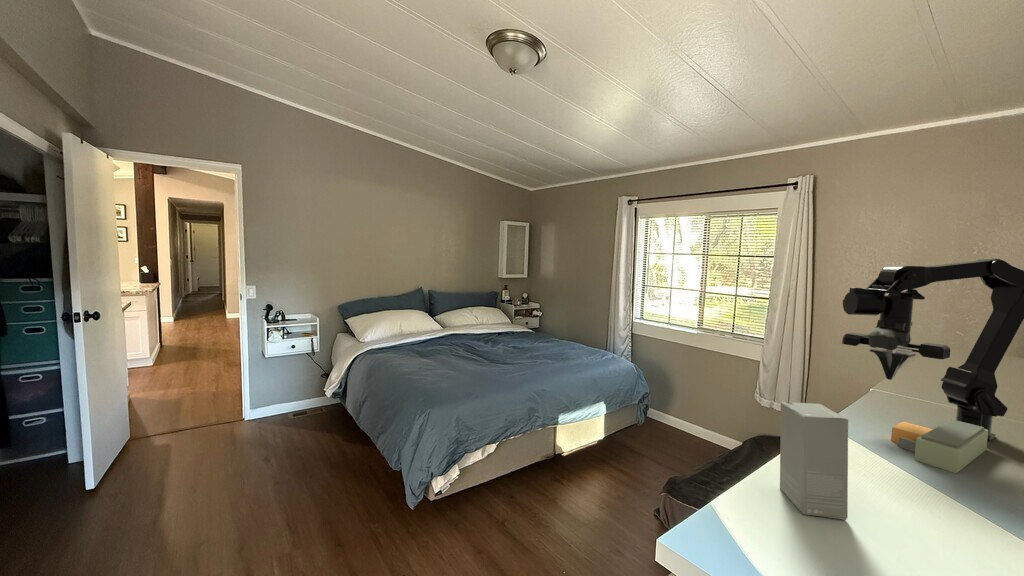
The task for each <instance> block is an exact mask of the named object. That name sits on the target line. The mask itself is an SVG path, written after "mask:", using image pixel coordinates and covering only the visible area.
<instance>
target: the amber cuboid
mask: <svg viewBox="0 0 1024 576" xmlns="http://www.w3.org/2000/svg"><path fill="white" fill-rule="evenodd" d="M933 429H934V428H933ZM933 429H932V428H928V427H925V426H921V425H917V424H914V423H910V422H906V421H901V422H899V423H897V424H895V425H893V426H892V427H891V435H890V436H891V437H890V441H891V442H893V443H897V444H899V438H900V437H903V438H907V439H910V440H914V441H916V438H918V437H920V436H922V435H924V434H925V433H927V432H929V431H931V430H933Z"/></svg>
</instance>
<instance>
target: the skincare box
mask: <svg viewBox="0 0 1024 576" xmlns="http://www.w3.org/2000/svg"><path fill="white" fill-rule="evenodd" d="M779 445H780V446H779V447H780V448H779V449H780V451H779V457H780V458H779V489H780V491H782V493H783V494H784V495H785V496H786V497H787V498H788V499H789V500H790V501H791V502H792V504H793V505H795V507H796V508H797V509H798V510H799V512H801V514H803V515H807V516H813V517H814V516H817V517H824V518H831V519H839V520H844V521H847V519H848V515H849V514H848V507H849V506H848V501H849V500H848V497H849V496H848V493H849V492H848V491H849V490H848V487H849V486H848V485H849V478H848V477H849V476H848V475H849V474H848V473H849V471H848V470H849V419H848V418H847V417H844V416H842V415H841V414H839V413H837V412H835V411H833V410H832V409H830V408H828V407H826V406H825V405H823V404H821V403H810V402H809V403H808V402H791V401H789V402H788V401H781V402H780V444H779Z"/></svg>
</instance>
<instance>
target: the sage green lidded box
mask: <svg viewBox="0 0 1024 576" xmlns="http://www.w3.org/2000/svg"><path fill="white" fill-rule="evenodd" d="M987 439H988V430H987V429H984V427H981V426H977V425H973V424H969V423H965V422H961V421H957V420H956V419H949V420H947V421H945V422H944V423H942V424H941V425H939V426H937V427H935V428H933V430H931V431H929V432H927V433H925V434H924V435H922V436H920V437H918V438H916V441H914V440H910V439H907V438H903V437H900V438H899V443H898V446H897V447H898V448H902V449H904V450H905V449H906V450H909V451H911V452H914V458H913V459H914V461H915V462H916V461H917V462H919V461H920V462H919V463H922V464H925V465H929V466H933V467H935V468H938V469H941V470H944V471H948V472H950V473H954V474H957V473H959V472H960V471H961V470H963V469H964V468H965V467H966V466H967V465H969V464H970V463H971V462H973V461H974V460H975V459H976V458H978V457H979V456H980V455H982V454H983V453H984V452H985V451H986V450H987V446H988V441H987Z"/></svg>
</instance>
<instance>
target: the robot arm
mask: <svg viewBox="0 0 1024 576" xmlns="http://www.w3.org/2000/svg"><path fill="white" fill-rule="evenodd" d="M973 278H979V279H980V280H981V282H982V283H983V285H984V286H986V287H987V288H988V289H990V290H992V292H991V296H990V301H991V306H992V309H993V310H992V311H991V314H990V316H989V318H988V319H987V321H986V323H985V325H984V327H983V328H982V330H981V332H980V334H979V335H978V338H977V340H976V341H975V344H974V345H973V347H972V349H971V351H970V353H969V355H968V357H967V358H966V361H965V362H964V363H963V364H961V365H959V366H958V367H954V366H950V365H949V367H948V368H947V369H946V371H945V375H944V376H943V377H942V378H940V381H941V382H942V383H941V390H942V391H943V392H944V393H943V394H945V396H946V398H947V402H948V403H949V404H953V405H956V417H955V420H957V421H961V422H965V423H969V424H973V425H977V426H981V427H984V429H987V430H988V439H987V442H990V441H992V440H993V439H995V438H996V436H997V435H996V433H992V426H993V417H1004V416H1005V415H1006V413H1007V411H1008V406H1006V405H1005V404H1004V403H1003V402H1002V401H1001V400H1000V399H999V398H998V397H997V396H996V393H997V390H998V382H997V378H996V371H997V369H998V367H999V365H1000V364H1001V362H1002V360H1003V358H1004V356H1005V355H1006V353H1007V350H1008V349H1009V347H1010V346H1011V343H1012V341H1013V340H1014V338H1015V337H1016V334H1017V332H1018V331H1019V329H1020V327H1021V325H1022V323H1023V321H1024V270H1023V269H1020V268H1018V267H1015V266H1013V265H1012V264H1010V263H1008V261H1006V260H1003V259H1000V258H980V259H977V260H972V261H962V262H956V263H955V262H953V263H946V264H936V265H928V266H927V265H926V266H923V265H921V266H920V265H918V266H917V265H888V266H884V267H883V268H882V269H881V270H880V272H879V274H878V276H877V277H876V278H875V279H874V280H873V281H872V282H871V283H870V284H869V285H868V286H867V287H866V288H861V287H852V286H851V287H849V290H848V291H849V292H847V293H846V294H845V296H844V299H843V300H842V308H843V311H844V312H845V313H846V314H847V315H853V316H872V317H875V316H878V315H879V319H877V323H876V326H875V328H873V329H872V330H871V331H870V332H869V333H868V334H866V333H860V332H859V333H857V332H850V333H845V334H844V335H843V337H842V340H841V341H842V342H841V344H842V345H847V346H852V347H857V346H859V345H867V346H869V347H870V349H869V352H870V353H873V354H874V355H876V357H877V358H878V360H879V362H880V363H881V366H882V370H883V372H884V375H885V378H886V379H887V380H890V381H892V380H893V379H894V377H895V376H896V374H897V373H898V372H899V370H900V369H901V367H902V366H903V364H904V363H905V362H906V361H907V360H908V358H912V357H916V355H917V354H916V353H918V354H919V355H920V356H921V357H923V358H928V359H936V360H946V359H950V358H951V348H950V347H949V346H948V345H946V344H939V343H931V342H925V343H920V344H916V343H911V341H912V338H911V329H912V327H913V320H912V318H913V308H914V300H922V301H923V300H925V299H926V297H925V296H924V295H923V294H921V293H920V292H918V290H917V289H918V288H922V287H926V286H929V285H930V284H933V283H937V282H938V283H939V282H945V281H955V280H962V279H965V280H966V279H973ZM886 294H887V295H886ZM894 350H895V352H894Z"/></svg>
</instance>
